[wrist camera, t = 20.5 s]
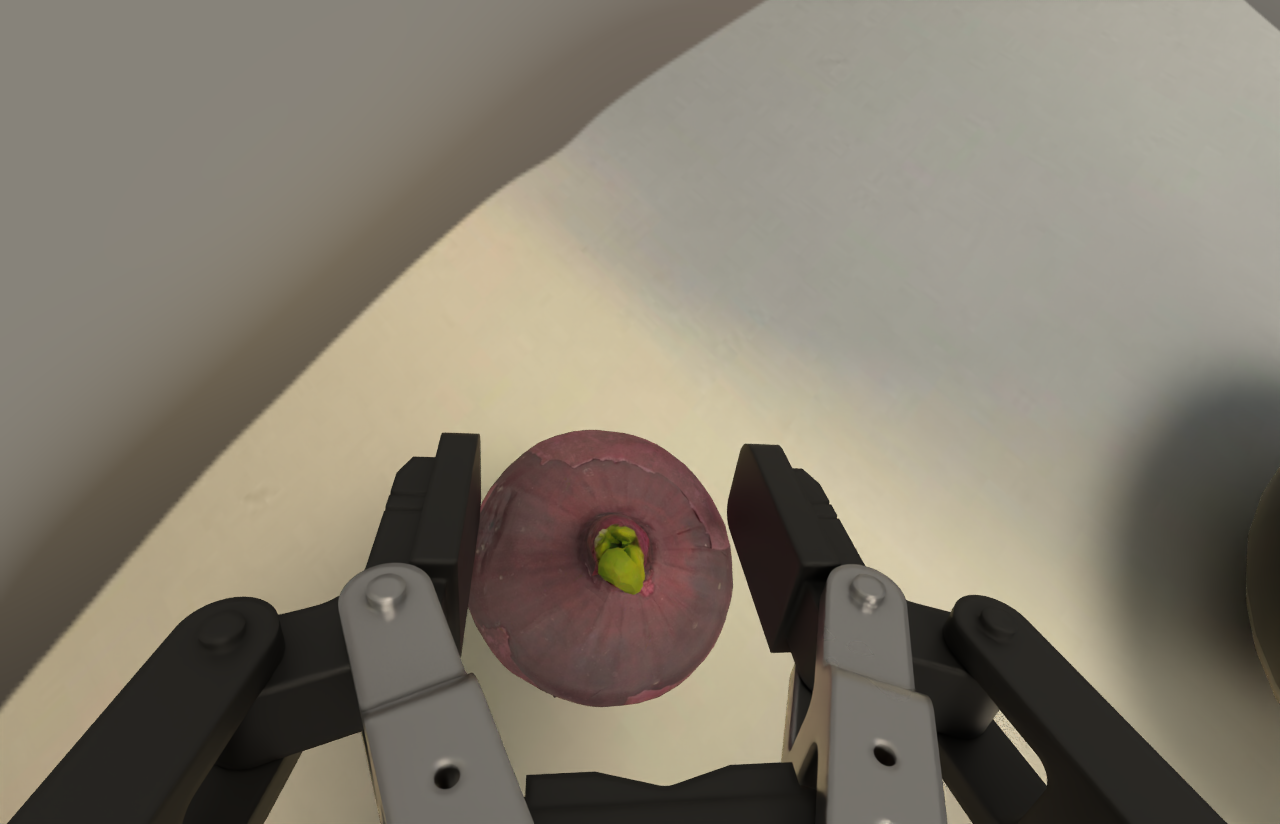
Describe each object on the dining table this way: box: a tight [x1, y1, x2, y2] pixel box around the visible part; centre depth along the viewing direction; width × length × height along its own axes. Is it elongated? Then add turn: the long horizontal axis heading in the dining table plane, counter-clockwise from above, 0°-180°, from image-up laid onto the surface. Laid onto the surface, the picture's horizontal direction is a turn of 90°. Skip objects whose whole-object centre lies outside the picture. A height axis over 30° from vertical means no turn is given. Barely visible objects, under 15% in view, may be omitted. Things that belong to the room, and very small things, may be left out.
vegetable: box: [468, 430, 733, 707], centre depth 14 cm, size 6×6×10 cm
